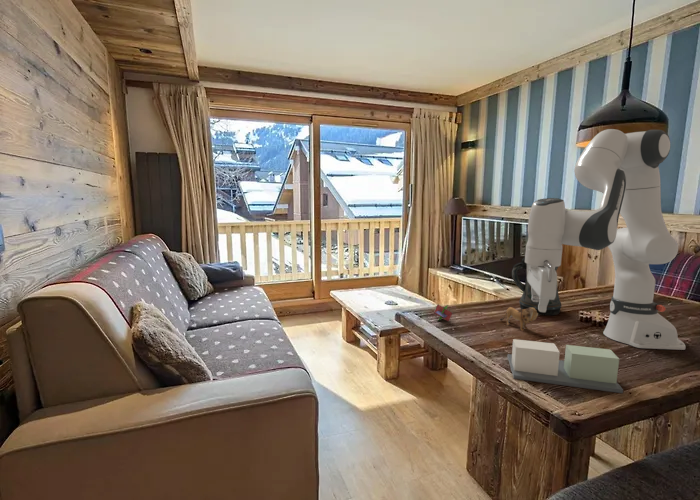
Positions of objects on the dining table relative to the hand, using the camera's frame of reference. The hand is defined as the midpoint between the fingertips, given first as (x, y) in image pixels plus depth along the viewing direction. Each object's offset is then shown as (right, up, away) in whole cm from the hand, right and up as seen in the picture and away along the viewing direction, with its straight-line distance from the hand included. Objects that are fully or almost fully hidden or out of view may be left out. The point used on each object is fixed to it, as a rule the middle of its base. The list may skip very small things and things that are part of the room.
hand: (538, 306), depth 102 cm
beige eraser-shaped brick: (0, -18, +3) cm, 19 cm away
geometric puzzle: (-15, -13, +45) cm, 49 cm away
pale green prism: (+14, -19, -1) cm, 23 cm away
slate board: (+7, -20, +2) cm, 21 cm away
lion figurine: (+12, -14, +38) cm, 43 cm away
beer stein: (+29, -11, +58) cm, 66 cm away
